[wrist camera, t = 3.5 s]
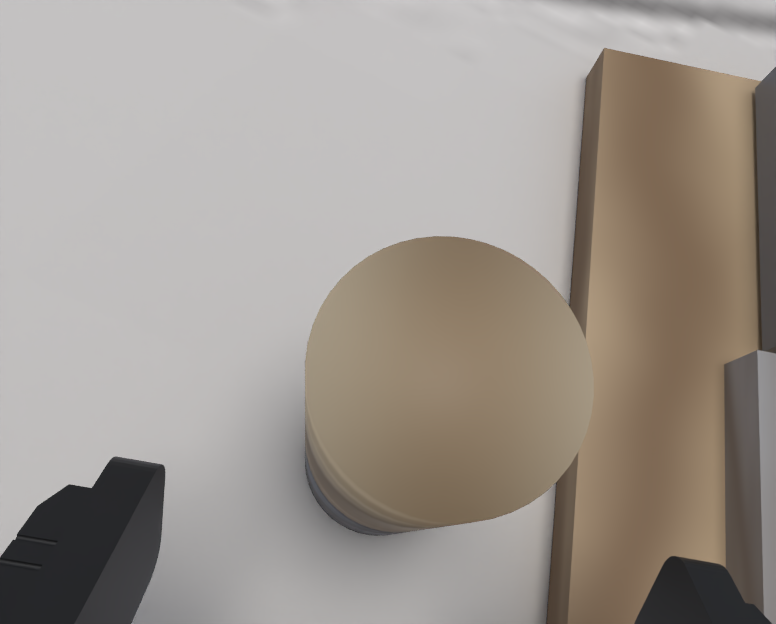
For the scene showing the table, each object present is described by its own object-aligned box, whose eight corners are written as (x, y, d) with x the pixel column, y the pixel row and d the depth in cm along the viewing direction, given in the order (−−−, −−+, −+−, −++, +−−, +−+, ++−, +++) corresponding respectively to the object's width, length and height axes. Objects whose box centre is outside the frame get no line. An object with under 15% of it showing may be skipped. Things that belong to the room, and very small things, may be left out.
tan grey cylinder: (291, 521, 18) (276, 493, 9) (320, 374, 19) (334, 212, 10) (440, 546, 18) (585, 547, 9) (459, 400, 20) (601, 264, 10)
